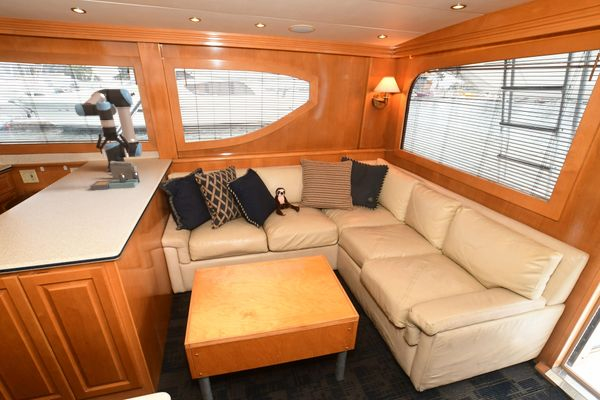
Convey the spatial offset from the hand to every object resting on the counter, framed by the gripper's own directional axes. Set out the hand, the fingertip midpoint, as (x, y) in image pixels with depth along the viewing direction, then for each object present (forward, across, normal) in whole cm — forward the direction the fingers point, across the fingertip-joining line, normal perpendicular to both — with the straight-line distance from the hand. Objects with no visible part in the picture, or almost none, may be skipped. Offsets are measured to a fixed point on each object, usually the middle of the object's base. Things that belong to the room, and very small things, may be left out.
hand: (116, 157), depth 188 cm
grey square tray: (+21, -13, 0) cm, 24 cm away
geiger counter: (+21, -6, +19) cm, 29 cm away
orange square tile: (+18, -13, 0) cm, 22 cm away
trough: (+21, +1, 0) cm, 21 cm away
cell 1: (+20, +1, -1) cm, 20 cm away
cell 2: (+21, +7, +8) cm, 23 cm away
